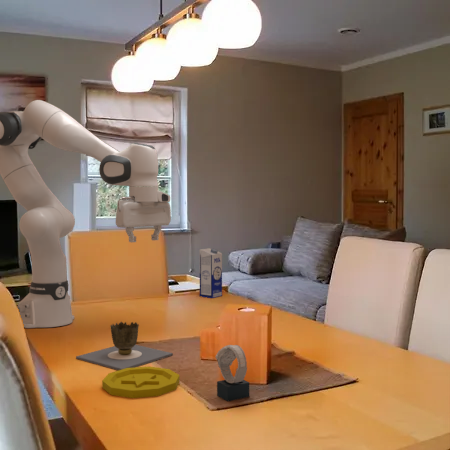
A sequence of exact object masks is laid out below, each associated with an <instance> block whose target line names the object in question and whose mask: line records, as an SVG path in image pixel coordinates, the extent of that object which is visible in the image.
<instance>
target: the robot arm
mask: <svg viewBox="0 0 450 450" xmlns="http://www.w3.org/2000/svg"><path fill="white" fill-rule="evenodd" d="M41 140H43V141H44V142H46V143H48V144H49V145H51V146H53V147H55V148H57V149H60V150H62V151H65V152H66V151H67V152H71V153H78V154H83V155H86V156H89V157H90V158H93V159H95V160H96V161H98V162H99V163H100V164H99V167H98V169H99V170H98V172H99V176H100V178H101V179H102V181H103V182H104V183H106V184H109V185H111V186H119V187H120V186H121V187H122V186H123V187H124V186H125V187H129V188H128V191H129V192H128V195H129V196H121V197H120V198H119V199H118V200H117V206H116V211H115V212H116V214H115V226H116V227H117V228H120V229H121V228H125V232H126V234H127V236H128V242H129V243H137V236H135V233H134V231H135V228H140V227H141V228H142V227H143V228H145V227H153V231H154V232H153V234H151V237H150V238H151V241H159V236H160V232H161V231H162V226H169V224H171V220H172V219H171V217H172V213H171V212H172V211H171V205H170V203H169V202H170V201H171V196H170V195H169V194H168V193H165V192H164V191H161V190H159V183H158V176H159V159H158V152H157V149H156V148H155V146H153V145H151V144H145V143H140V142H133V143H131V144H130V145H129V146H127V147H126V148H124V149H123V150H121V151H119V150H118V149H116V148H115V147H113V146H111V145H110V144H108V143H107V142H105V141H103V140H102V139H100V138H98V137H97V135H95V134H93V133H92V132H91V131H90V130H89V129H87V128H86V127H85V126H83V125H82V124H81V123H80V122H78V121H77V120H76V119H75V118H73V117H72V116H71V115H70V114H68V113H67V112H65V111H64V110H62V109H61V108H59V107H57V106H56V105H53V104H51V103H50V102H47V101H44V100H42V99H35V100H32V101H30V102H29V103H28V104H27V105H26V106H25V107H24V110H23V111H22V110H14V111H0V177H1V178H2V180H3V182H4V184H5V185H6V187H7V189H8V190H9V192H10V194H11V196H12V197H13V199H14V200H15V202H16V203H17V204H19V205H21V207H23V209H25V210H26V212H25V213H24V214H22V215H21V217H20V220H19V224H18V225H19V231H20V233H21V234H22V236H23V237H24V238H25V240H26V242H27V246H28V250H29V252H30V258H31V274H32V275H31V280H32V281H31V282H28V283H27V284H28V285H27V287H28V288H29V290H28V292H29V293H27V295H26V296H25V297H24V298H23V299H22V300H20V301H19V303H18V304H17V308H18V309H19V312H20V315H21V318H22V320H23V324H24V327H23V328H25V329H34V328H35V329H36V328H55V327H60V326H62V327H63V326H67V325H70V324H72V323H73V321H74V320H75V315H74V314H73V311H72V310H73V309H72V303H71V296H70V295H69V293H68V291H69V280H68V275H67V273H68V272H67V271H68V268H67V256H66V255H65V253H64V252H63V248H62V246H61V241H60V239H61V238H63V237H65V236H67V235H69V234H70V233H71V232H72V231H73V229H74V227H75V223H76V218H75V216H74V214H73V212H71V211H70V210H69V209H68V208H66V207H65V206H64V205H63V203H62V202H61V201H60V200H59V199H58V197H57V196H56V195H55V194H54V193H53V192H52V190H51V189H50V188H49V186H48V185H47V184H46V183H45V181H44V179H43V178H42V176H41V174H40V173H39V171H38V169H37V168H36V166H35V164H34V163H33V161H32V160H31V157H30V155H29V153H28V152H29V150H33V149H35V148H36V147H37V144H38V143H40V141H41Z"/></svg>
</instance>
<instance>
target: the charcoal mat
mask: <svg viewBox="0 0 450 450" xmlns="http://www.w3.org/2000/svg"><path fill="white" fill-rule="evenodd" d="M131 349H132V352H131V354H129V355H120V354H119V353H118V350H119V349H118V348H116V347H115V346H110V347H106V348H101V349H99V350H95V351H91V352H87V353H84V354H83V353H82V354H80V355H76V356H75V359H76V360H80V361H84V362H87V363H90V364H94V365H97V364H98V366H101V367H105V368H108V369H113V370H114V371H118V370H122V369H125V368H134V367H142V366H144V365H147V364H150V363H153V361H154V362H156V360H157V361H159V359H160V360H163V359H165V358H169V357H172V356H174V354H173V352H169V351H164V350H161V349H157V348H152V347H148V346H145V345H139V344H135V346H134V347H132V348H131ZM168 356H169V357H168ZM162 358H163V359H162Z"/></svg>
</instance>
